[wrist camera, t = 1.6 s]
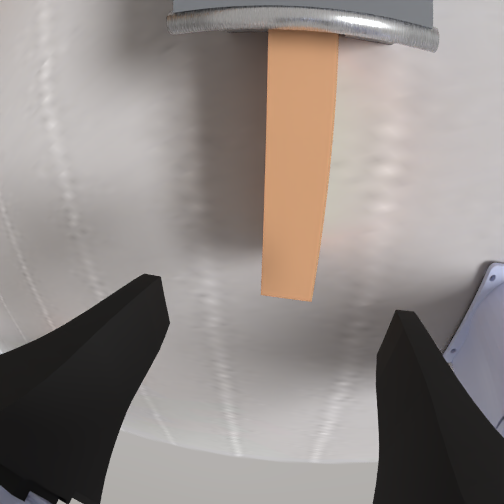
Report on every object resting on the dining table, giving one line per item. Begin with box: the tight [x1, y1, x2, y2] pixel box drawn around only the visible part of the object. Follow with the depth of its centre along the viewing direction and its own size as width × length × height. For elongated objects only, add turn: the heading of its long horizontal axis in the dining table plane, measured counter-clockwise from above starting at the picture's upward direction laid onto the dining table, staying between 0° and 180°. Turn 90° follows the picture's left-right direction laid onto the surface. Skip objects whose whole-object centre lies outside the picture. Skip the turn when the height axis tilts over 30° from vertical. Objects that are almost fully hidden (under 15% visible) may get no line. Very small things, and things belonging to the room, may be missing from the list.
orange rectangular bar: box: [261, 29, 339, 302], centre depth 12 cm, size 16×2×5 cm, turn 179°
